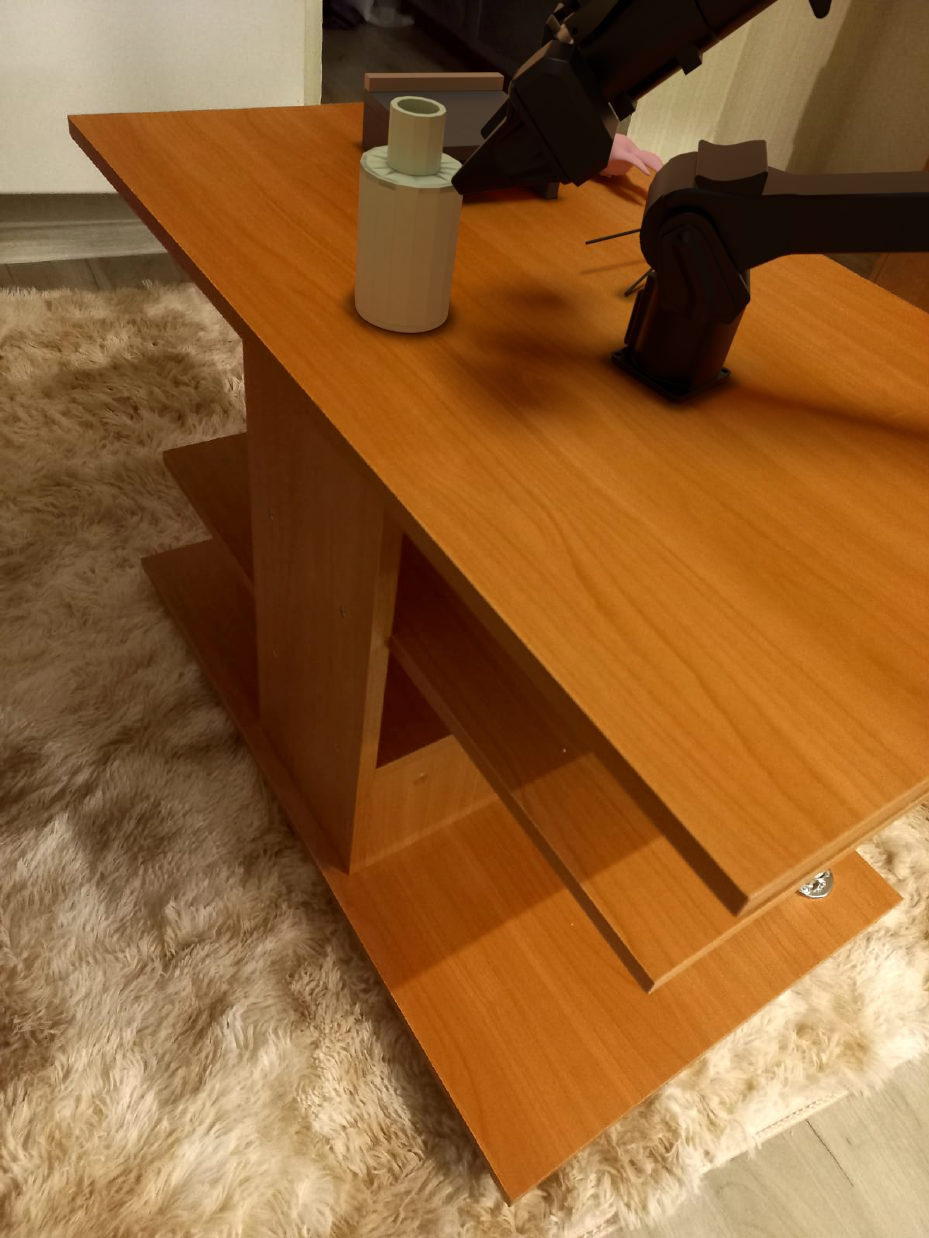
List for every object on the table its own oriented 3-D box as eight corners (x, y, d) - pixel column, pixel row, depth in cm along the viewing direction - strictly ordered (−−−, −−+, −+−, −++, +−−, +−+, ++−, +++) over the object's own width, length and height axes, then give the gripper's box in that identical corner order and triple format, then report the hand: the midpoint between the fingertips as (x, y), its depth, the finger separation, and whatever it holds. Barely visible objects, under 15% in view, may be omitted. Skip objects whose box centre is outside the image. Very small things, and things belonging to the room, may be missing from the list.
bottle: (466, 319, 64) (495, 119, 54) (393, 342, 61) (410, 133, 51) (409, 278, 67) (426, 82, 57) (336, 298, 64) (341, 93, 54)
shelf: (557, 198, 82) (571, 126, 77) (421, 208, 76) (428, 131, 72) (489, 140, 89) (498, 72, 85) (361, 145, 84) (364, 73, 79)
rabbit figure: (535, 161, 91) (626, 197, 81) (541, 95, 87) (637, 124, 77) (583, 157, 93) (677, 191, 84) (591, 93, 90) (690, 121, 80)
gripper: (633, -185, 50) (427, 5, 58) (602, -153, 37) (343, 84, 45) (722, 7, 55) (520, 155, 64) (721, 93, 42) (469, 263, 51)
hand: (470, 161), depth 56 cm, fingers open, 9 cm apart
